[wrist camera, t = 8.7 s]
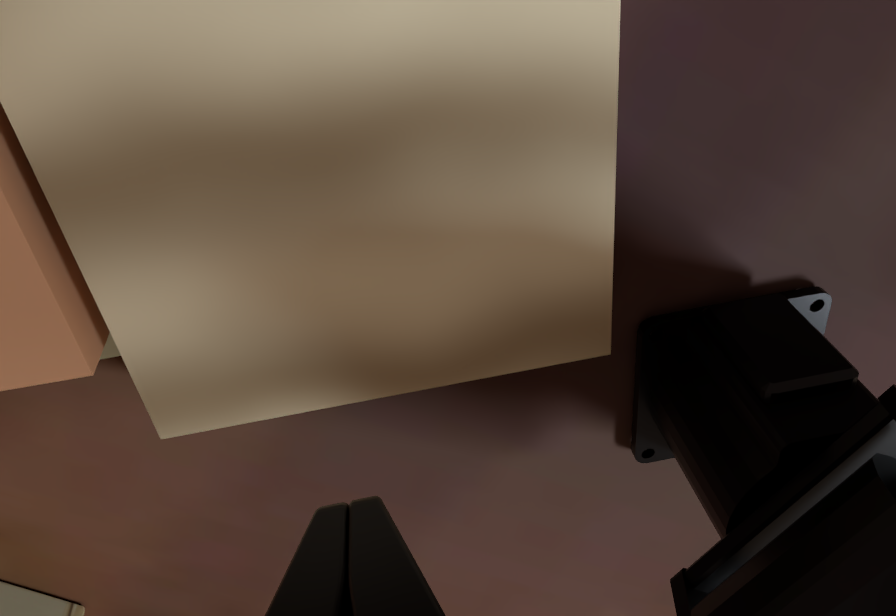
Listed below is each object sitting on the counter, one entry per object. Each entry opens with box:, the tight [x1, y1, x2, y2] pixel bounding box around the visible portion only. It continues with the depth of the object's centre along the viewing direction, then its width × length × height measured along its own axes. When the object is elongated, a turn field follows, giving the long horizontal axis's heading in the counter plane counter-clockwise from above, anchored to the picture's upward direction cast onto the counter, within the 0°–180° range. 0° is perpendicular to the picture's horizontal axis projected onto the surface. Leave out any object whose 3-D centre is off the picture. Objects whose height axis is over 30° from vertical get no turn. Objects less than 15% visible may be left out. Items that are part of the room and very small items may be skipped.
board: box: [0, 0, 621, 439], centre depth 18 cm, size 14×13×2 cm
